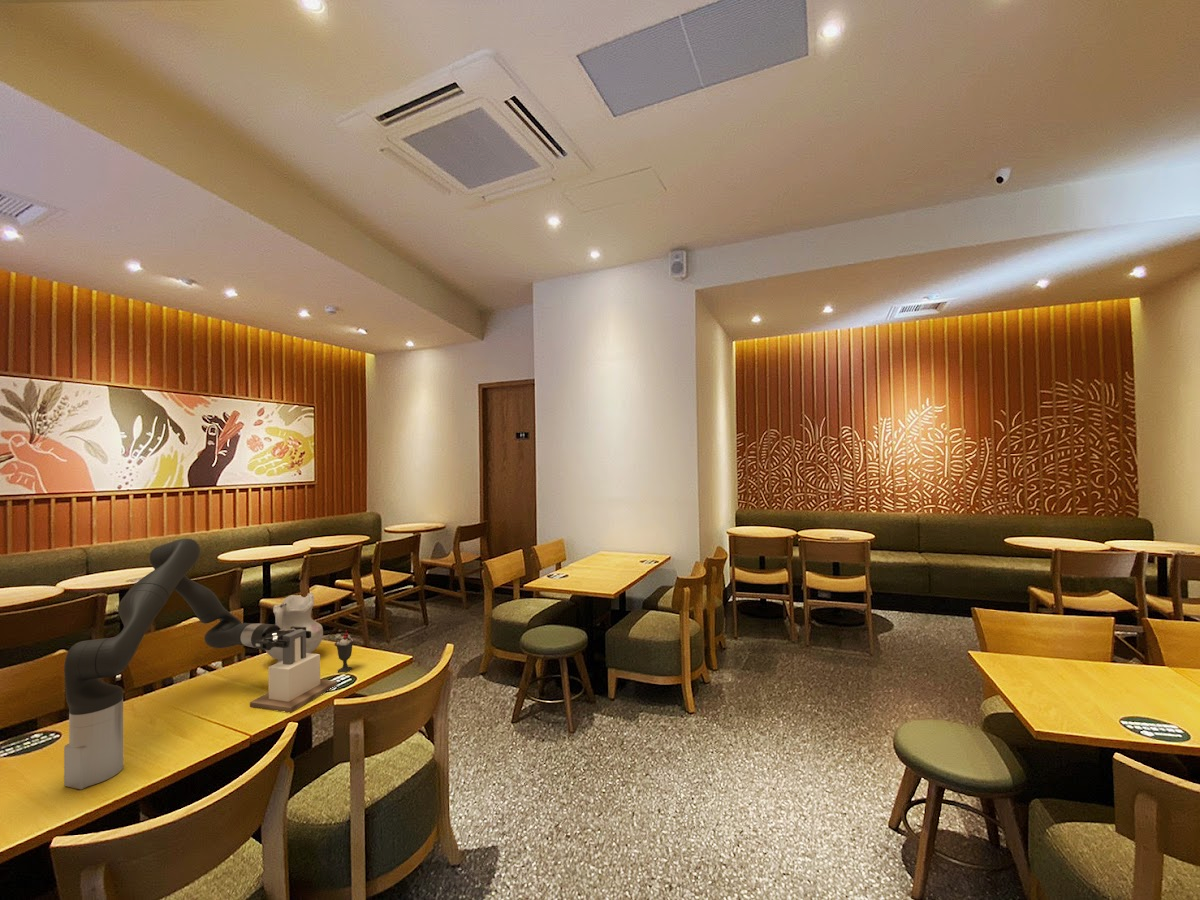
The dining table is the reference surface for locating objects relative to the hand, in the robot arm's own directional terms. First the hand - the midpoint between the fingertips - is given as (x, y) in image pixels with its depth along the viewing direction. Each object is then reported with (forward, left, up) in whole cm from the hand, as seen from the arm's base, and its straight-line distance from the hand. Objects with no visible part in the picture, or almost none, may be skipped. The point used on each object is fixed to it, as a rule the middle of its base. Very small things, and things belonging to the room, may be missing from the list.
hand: (299, 639), depth 157 cm
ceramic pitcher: (+22, +27, -19) cm, 39 cm away
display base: (0, +2, -18) cm, 19 cm away
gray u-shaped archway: (0, +2, -7) cm, 7 cm away
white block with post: (0, +2, -17) cm, 17 cm away
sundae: (+20, +1, -19) cm, 27 cm away
